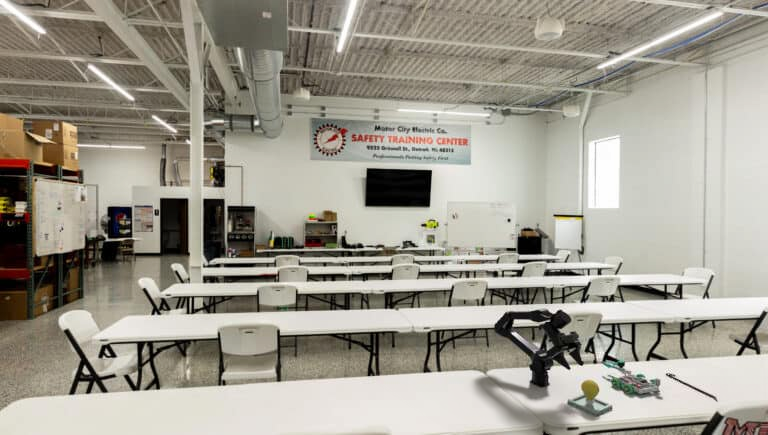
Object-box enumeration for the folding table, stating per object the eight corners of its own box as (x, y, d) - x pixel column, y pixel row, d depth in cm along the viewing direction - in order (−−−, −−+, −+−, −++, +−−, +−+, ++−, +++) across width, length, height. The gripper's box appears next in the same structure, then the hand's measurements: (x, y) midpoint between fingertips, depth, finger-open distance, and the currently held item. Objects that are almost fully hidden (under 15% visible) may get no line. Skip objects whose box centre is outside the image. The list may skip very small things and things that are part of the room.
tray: (567, 403, 169) (567, 399, 169) (584, 396, 176) (584, 393, 176) (595, 416, 159) (595, 412, 159) (612, 408, 166) (612, 405, 166)
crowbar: (662, 373, 202) (670, 372, 203) (661, 375, 202) (670, 374, 203) (716, 399, 175) (726, 398, 176) (716, 402, 175) (726, 401, 176)
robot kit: (616, 371, 206) (617, 352, 205) (666, 393, 182) (667, 372, 182) (588, 375, 199) (589, 356, 199) (636, 398, 176) (637, 377, 175)
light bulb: (599, 403, 169) (600, 379, 168) (598, 410, 163) (599, 385, 163) (581, 399, 172) (582, 375, 172) (579, 405, 166) (580, 381, 166)
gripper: (553, 328, 171) (577, 363, 163) (579, 322, 182) (602, 355, 173) (536, 340, 178) (558, 375, 169) (562, 334, 189) (583, 366, 180)
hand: (576, 367), depth 173 cm, fingers open, 9 cm apart
